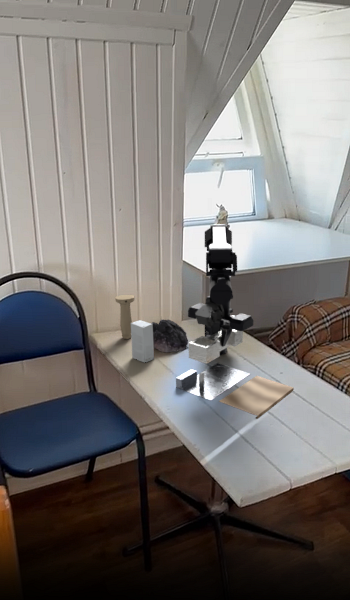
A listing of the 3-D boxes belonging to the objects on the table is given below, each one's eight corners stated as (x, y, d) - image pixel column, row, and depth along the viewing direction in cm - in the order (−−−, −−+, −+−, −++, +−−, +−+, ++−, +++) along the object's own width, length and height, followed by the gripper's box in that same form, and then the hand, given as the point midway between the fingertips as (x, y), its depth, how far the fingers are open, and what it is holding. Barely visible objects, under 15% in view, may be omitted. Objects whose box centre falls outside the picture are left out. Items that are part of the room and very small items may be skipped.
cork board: (256, 378, 161) (256, 375, 161) (293, 390, 154) (293, 387, 154) (218, 404, 148) (218, 401, 147) (257, 419, 140) (257, 415, 140)
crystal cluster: (195, 342, 189) (194, 314, 187) (180, 355, 177) (178, 325, 175) (160, 340, 195) (158, 313, 192) (143, 352, 182) (141, 323, 180)
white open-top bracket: (226, 337, 163) (227, 323, 162) (243, 342, 160) (244, 328, 158) (188, 357, 150) (188, 342, 149) (206, 363, 147) (206, 348, 145)
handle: (137, 339, 191) (135, 298, 186) (118, 341, 189) (116, 300, 184) (134, 334, 195) (132, 294, 190) (116, 336, 194) (114, 295, 189)
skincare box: (154, 359, 176) (153, 323, 172) (144, 363, 173) (143, 327, 169) (141, 353, 180) (139, 319, 176) (131, 358, 177) (129, 323, 173)
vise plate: (217, 365, 170) (217, 349, 168) (250, 376, 163) (251, 359, 161) (176, 390, 155) (175, 373, 154) (210, 403, 148) (210, 385, 146)
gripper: (174, 293, 150) (175, 345, 155) (231, 307, 139) (230, 363, 144) (199, 283, 158) (199, 333, 163) (255, 296, 147) (253, 349, 152)
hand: (219, 344), depth 155 cm, fingers closed on white open-top bracket, 2 cm apart
